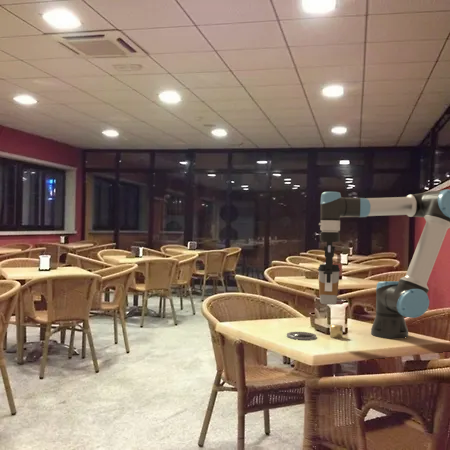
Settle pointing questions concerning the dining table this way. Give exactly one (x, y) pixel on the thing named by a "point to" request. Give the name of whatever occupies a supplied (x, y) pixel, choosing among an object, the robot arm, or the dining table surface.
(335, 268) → the coffee cup
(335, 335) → the brass coupling
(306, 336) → the flange plate
